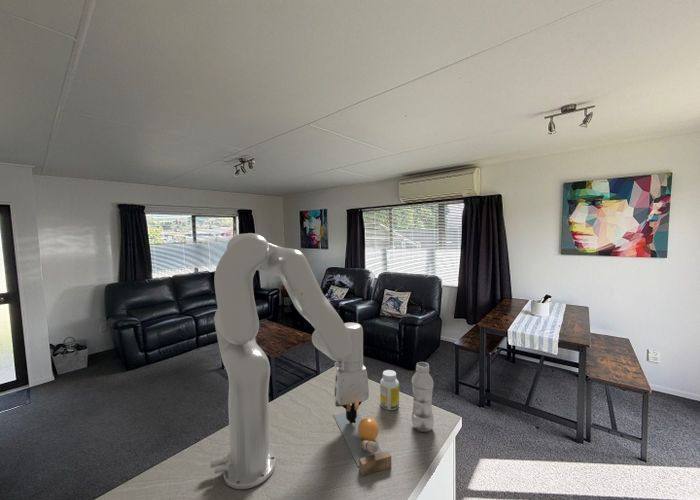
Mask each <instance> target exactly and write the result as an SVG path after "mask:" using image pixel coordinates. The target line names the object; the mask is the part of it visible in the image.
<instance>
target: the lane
mask: <svg viewBox="0 0 700 500" xmlns="http://www.w3.org/2000/svg"><path fill="white" fill-rule="evenodd" d="M333 418H334V419H335V422H336V424H337V425H338V428H339V430H340V432H341V434H342V436H343V438H344V441H345V443H346V445H347V447H348V449H349V452H350V453H351V455H352V457H353V459H354V462H355V464H356V466H357V467H358V468H359V459H360V458H363V457H367V456H370V455H374V454H377V453H381V452H383V450H382V449H381V447H380V446H379V445H378V443H377V441H376V439H375V440H374V441H373V442H376V443H377V445H378V450H377V451H376V452H375V453H370V452H367V451H364V450H362V449H361V447H360V443H361V441H363V440H362V439H361V437H360V436H359V433H358V426H359V423H360V422H361V420H363V418H362V417H361V415H360V414H359V412H358V411H357V418H356V423H352V424H350V422H349V420H347V418H346V412H343V413H339V414H335V415H333Z"/></svg>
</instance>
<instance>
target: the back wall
mask: <svg viewBox="0 0 700 500" xmlns="http://www.w3.org/2000/svg"><path fill="white" fill-rule="evenodd" d="M390 468H392V455H391V453H390V451H389V450H385V451H382V452H381V453H377V454H374V455H370V456H367V457H363V458H360V459H359V467H358V469H359V470H358V471H359V472H360V475H361V476H362V477H365V476H367V475H371V474H374V473H378V472H380V471H383V470H387V469H390Z"/></svg>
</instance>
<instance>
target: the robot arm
mask: <svg viewBox="0 0 700 500" xmlns="http://www.w3.org/2000/svg"><path fill="white" fill-rule="evenodd" d="M220 257H221V258H220V259H219V261H218V263H217V265H216V268H215V271H214V277H213V278H214V280H213V282H214V291H215V300H216V305H217V310H215V313H214V314H215V315H214V319H213V320H214V326H215V332H216V336H217V342H218V348H219V353H220V357H221V362H222V364H223V366H224V369H225V371H226V373H227V376H228V378H227V379H228V396H227V397H228V400H227V402H228V403H227V404H228V406H227V407H228V409H227V410H228V433H229V434H228V437H229V439H228V440H229V449H228V453H225V454H224V455H223V456H219V457H215V458H211V459H210V466H209V467H210V469H214V474H218V473H221V472H223V480H224V482H225V483H226V485H228V487H230V488H232V489H235V490H246V489H251V488H254V487H257V486H259V485H260V484H262V483H264V482H265V481H266V480H267V479H268V478H269V477H270V476H271V475H272V473H274V471H275V468H276V464H277V458H276V454H275V452H274V451H273V450H272V449H270V418H269V417H270V414H269V411H270V410H269V409H270V408H269V407H270V406H269V388H270V387H269V385H270V376H271V365H270V361H269V357H268V356H267V353H265V352H264V350H263V349H262V348H261V347H260V345H258V343H257V340H256V337H257V335H258V333H259V330H260V320H259V318H260V317H259V315H258V310H257V305H256V300H255V295H254V294H255V293H254V284H253V283H254V277H255V275H256V271H259V272H262V273H266V274H269V275H274V276H277V277H279V278H280V280H281V281H280V282H282V284H283V286H284V288H285V290H286V291H287V294H288V296H289V298H290V300H291V302H292V304H293V306H294V308H295V309H296V310H297V312H298V313H299V314H300V315H301V316H302V317H303V318H304V319H305V320H306V321H307V322H308V323H309V324H311V326H312V328H314V331H313V332H312V334H311V342H312V345H313V346H314V347H315V348H316V349H317V350H318V351H320V352H321V353H322V354H324V355H326V357H328V358H330V360H332V361H335V362H334V367H336V373H335V377H334V379H335V380H334V397H335V399H334V405H335V407H338V408H340V407H343V409H345V413H346V418H347V420H349V422H350V424H352V423H356V418H357V412H358V411H357V410H359V407H360V405H361V404H362V403H363V402H365V401H367V400H368V399H369V397H370V393H369V392H370V388H369V380H368V378H369V377H368V372H367V368H366V366H365V365H364V330H363V326H362V325H361V324H360V323H357V322H349V321H348V322H344V320H343V319H342V318H341V316H340V315H339V314H338V312H337V310H336V309H335V307H334V306H333V305H332V304H331V302H330V301H329V300H328V298H327V297H326V296H325V294H324V292H323V290H322V288H321V286H320V285H319V282H318V280H317V278H316V276H315V274H314V272H313V269H312V268H311V266H310V263H309V262H308V260H307V257H306V256H305V255H304V253H303V252H302V251H300V250H299V249H296V248H290V247H282V246H280V245H276V244H273V243H270V242H268V241H267V239H266V238H265V237H263V236H262V235H260V234H258V233H253V232H248V233H239V234H236V235H234V236H233V237H231V238H230V240H229V241H228V242H227V245H226V251H224V253H223V254H222V256H220Z"/></svg>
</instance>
